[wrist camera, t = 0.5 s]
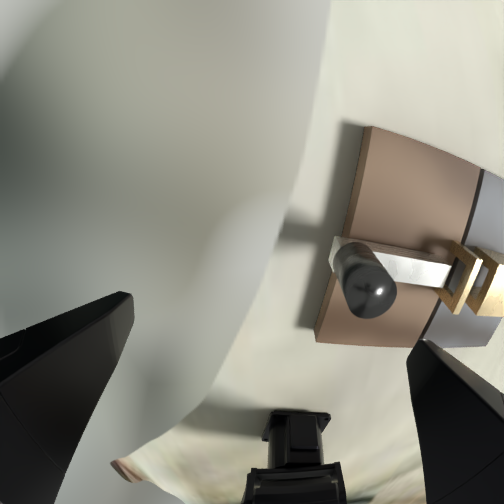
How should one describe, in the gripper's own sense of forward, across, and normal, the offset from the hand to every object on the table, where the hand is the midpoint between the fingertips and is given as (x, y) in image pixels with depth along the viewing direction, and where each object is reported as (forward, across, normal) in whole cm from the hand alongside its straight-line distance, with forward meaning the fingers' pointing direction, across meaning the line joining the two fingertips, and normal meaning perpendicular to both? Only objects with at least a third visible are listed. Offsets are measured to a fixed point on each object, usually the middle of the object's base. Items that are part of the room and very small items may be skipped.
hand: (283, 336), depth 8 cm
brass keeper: (+10, -16, 0) cm, 18 cm away
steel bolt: (+9, -7, 0) cm, 12 cm away
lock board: (+11, -14, 0) cm, 18 cm away
